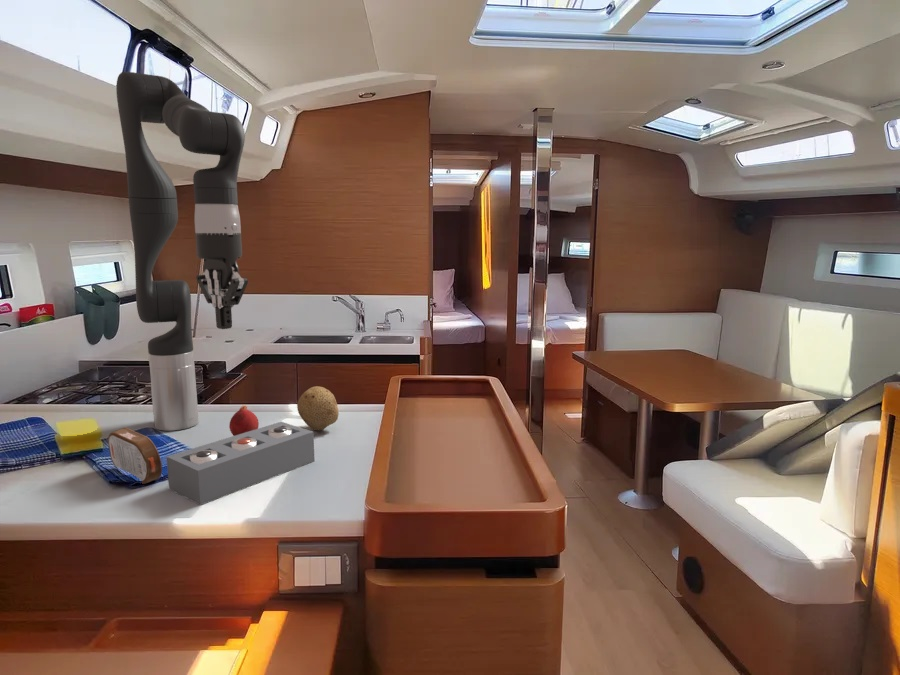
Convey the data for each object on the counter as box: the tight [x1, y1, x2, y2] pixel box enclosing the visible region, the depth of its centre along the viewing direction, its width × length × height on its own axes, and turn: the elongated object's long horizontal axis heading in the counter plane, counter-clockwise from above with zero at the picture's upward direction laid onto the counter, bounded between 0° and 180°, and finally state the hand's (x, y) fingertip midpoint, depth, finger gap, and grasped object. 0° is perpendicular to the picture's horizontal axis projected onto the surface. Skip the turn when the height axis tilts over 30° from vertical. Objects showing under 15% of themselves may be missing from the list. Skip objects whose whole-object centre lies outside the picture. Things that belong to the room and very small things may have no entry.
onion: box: [229, 404, 260, 436], centre depth 127 cm, size 6×6×8 cm
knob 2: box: [268, 427, 292, 439], centre depth 117 cm, size 4×4×4 cm
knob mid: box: [231, 438, 257, 451], centre depth 110 cm, size 4×4×4 cm
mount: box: [165, 421, 315, 506], centre depth 111 cm, size 10×24×6 cm, turn 143°
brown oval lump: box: [296, 385, 340, 431], centre depth 135 cm, size 9×9×10 cm
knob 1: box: [190, 450, 218, 465], centre depth 104 cm, size 4×4×4 cm
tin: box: [107, 427, 163, 485], centre depth 109 cm, size 15×3×8 cm, turn 53°
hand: (224, 328), depth 109 cm, fingers closed
